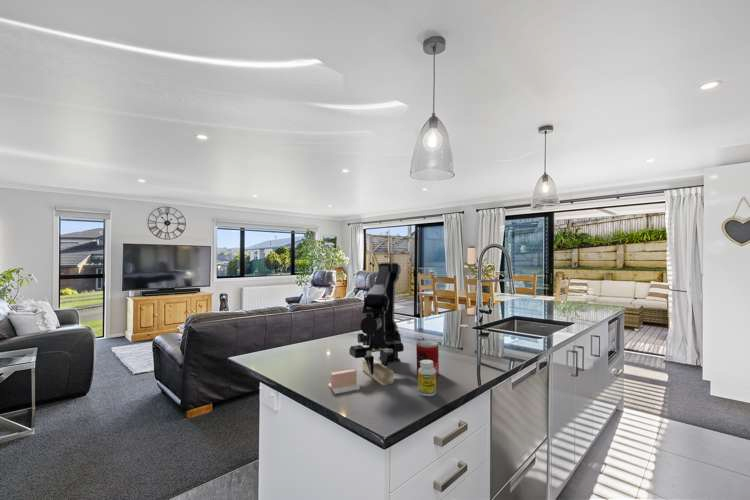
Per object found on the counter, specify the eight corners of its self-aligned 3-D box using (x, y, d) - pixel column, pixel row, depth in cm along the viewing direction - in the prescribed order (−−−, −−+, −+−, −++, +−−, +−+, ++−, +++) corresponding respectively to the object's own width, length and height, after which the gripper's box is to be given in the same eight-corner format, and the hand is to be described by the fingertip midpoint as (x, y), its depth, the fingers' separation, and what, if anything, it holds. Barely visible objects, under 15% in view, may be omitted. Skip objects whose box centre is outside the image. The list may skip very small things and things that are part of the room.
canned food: (440, 371, 122) (439, 340, 122) (436, 379, 114) (436, 346, 115) (419, 369, 124) (418, 339, 125) (414, 376, 117) (414, 344, 117)
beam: (372, 369, 125) (372, 358, 125) (393, 383, 111) (393, 371, 111) (362, 371, 124) (362, 360, 124) (382, 385, 109) (382, 373, 109)
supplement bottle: (432, 389, 106) (431, 358, 106) (439, 395, 100) (438, 363, 101) (415, 390, 104) (415, 359, 105) (422, 397, 99) (421, 364, 99)
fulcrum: (351, 381, 112) (351, 366, 113) (359, 389, 106) (359, 373, 106) (328, 386, 109) (328, 370, 109) (335, 393, 103) (335, 377, 103)
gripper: (389, 322, 129) (389, 363, 129) (343, 327, 121) (343, 370, 120) (404, 327, 119) (404, 372, 119) (355, 333, 111) (356, 381, 110)
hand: (377, 373), depth 117 cm, fingers closed on beam, 4 cm apart
